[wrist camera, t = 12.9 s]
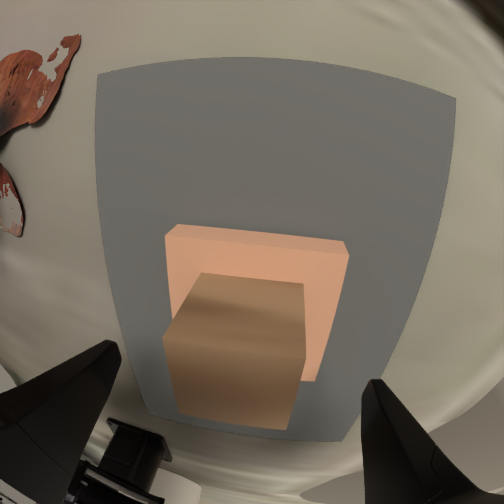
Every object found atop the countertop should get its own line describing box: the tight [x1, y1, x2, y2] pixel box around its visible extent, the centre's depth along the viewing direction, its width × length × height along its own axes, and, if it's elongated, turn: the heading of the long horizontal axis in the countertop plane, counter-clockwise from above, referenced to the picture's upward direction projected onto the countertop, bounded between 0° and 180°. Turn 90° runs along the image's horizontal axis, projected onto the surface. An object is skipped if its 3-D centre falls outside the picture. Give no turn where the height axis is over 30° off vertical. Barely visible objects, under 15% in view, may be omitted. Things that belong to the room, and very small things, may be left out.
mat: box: [95, 57, 456, 442], centre depth 14 cm, size 24×16×1 cm, turn 177°
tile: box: [165, 224, 349, 382], centre depth 12 cm, size 2×7×7 cm
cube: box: [162, 272, 306, 430], centre depth 10 cm, size 4×4×4 cm
